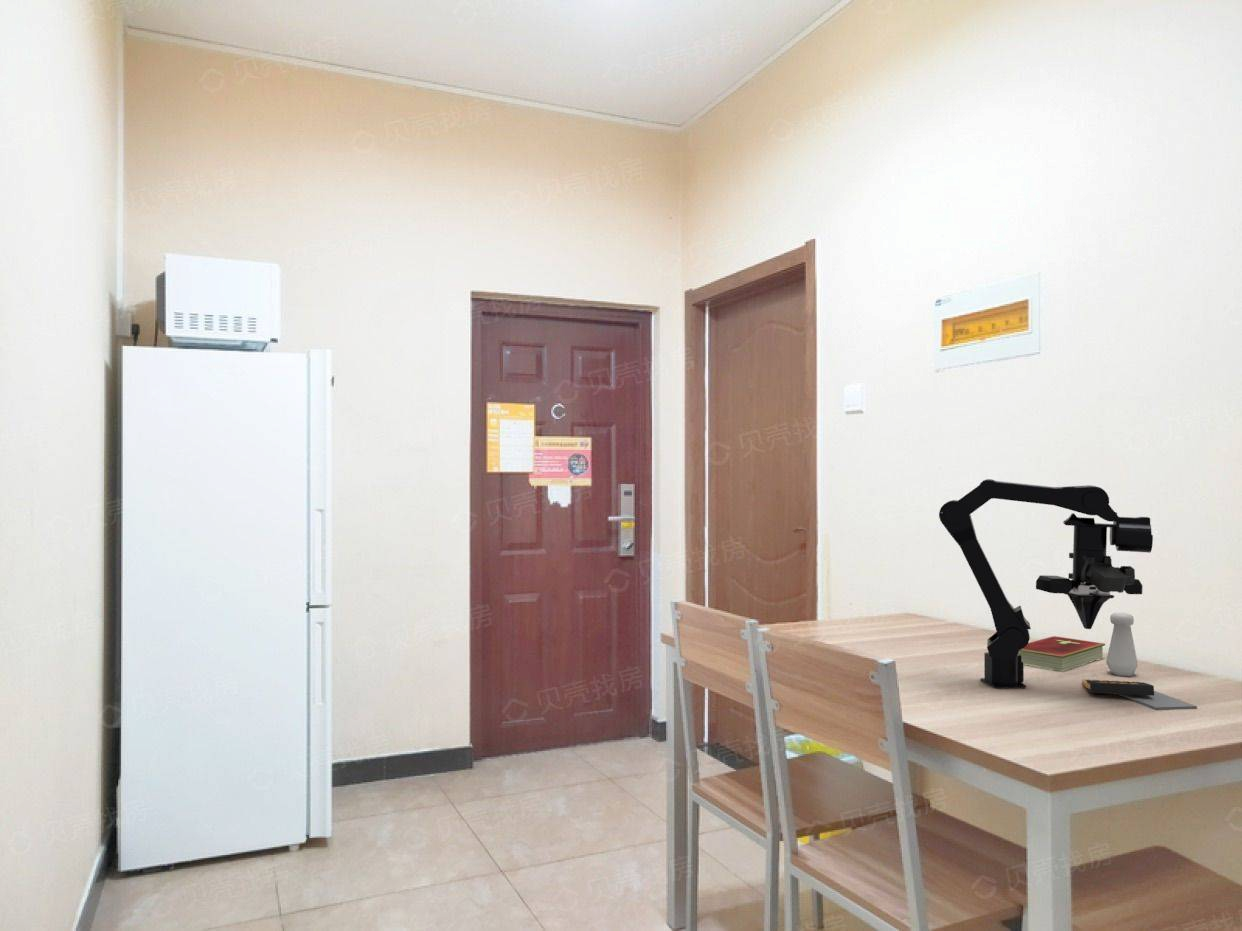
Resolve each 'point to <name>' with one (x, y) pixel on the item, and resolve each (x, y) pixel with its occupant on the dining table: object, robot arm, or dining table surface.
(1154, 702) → the mat
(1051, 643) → the hardcover book
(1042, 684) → the dining table surface
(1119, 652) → the salt shaker
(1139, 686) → the ammunition clip
